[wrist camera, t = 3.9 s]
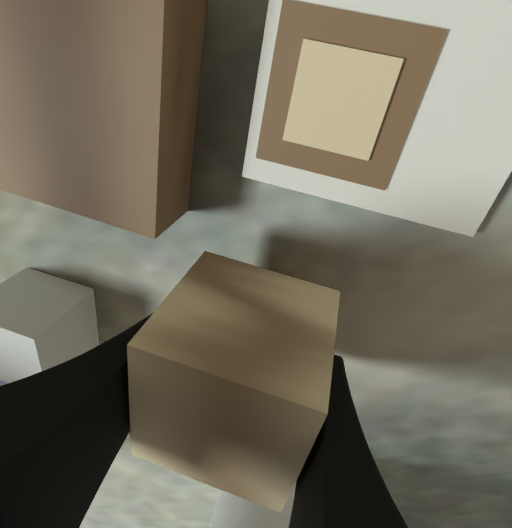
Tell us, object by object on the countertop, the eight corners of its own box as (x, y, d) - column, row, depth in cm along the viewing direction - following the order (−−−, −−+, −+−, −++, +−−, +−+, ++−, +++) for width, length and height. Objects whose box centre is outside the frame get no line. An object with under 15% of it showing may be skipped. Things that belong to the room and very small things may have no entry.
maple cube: (194, 347, 15) (131, 455, 11) (204, 251, 13) (127, 344, 9) (304, 384, 15) (281, 512, 11) (340, 291, 12) (327, 413, 8)
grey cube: (40, 321, 21) (-22, 371, 18) (27, 266, 19) (-46, 311, 15) (100, 342, 20) (48, 398, 17) (94, 288, 18) (34, 339, 15)
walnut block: (45, 163, 15) (-18, 183, 13) (15, -42, 12) (-80, -69, 9) (191, 207, 15) (155, 239, 12) (211, 2, 11) (164, -14, 8)
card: (245, 173, 13) (240, 178, 12) (278, -38, 10) (273, -43, 9) (470, 232, 12) (474, 239, 11) (592, 17, 9) (606, 15, 8)
